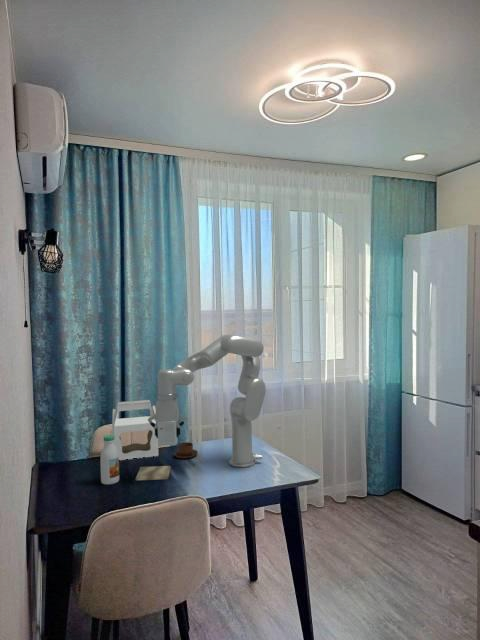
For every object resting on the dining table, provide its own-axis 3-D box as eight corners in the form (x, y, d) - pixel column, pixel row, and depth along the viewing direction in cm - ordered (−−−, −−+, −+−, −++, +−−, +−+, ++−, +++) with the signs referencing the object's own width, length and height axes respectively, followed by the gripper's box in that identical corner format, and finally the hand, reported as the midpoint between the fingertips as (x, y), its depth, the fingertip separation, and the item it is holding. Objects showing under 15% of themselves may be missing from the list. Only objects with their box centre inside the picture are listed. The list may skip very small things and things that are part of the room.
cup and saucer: (177, 452, 242) (177, 440, 242) (200, 453, 241) (199, 441, 240) (171, 459, 230) (170, 447, 230) (194, 460, 229) (194, 448, 229)
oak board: (170, 468, 217) (170, 465, 217) (168, 479, 203) (167, 476, 203) (140, 469, 217) (140, 466, 216) (135, 480, 203) (135, 477, 203)
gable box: (114, 461, 230) (112, 405, 229) (112, 453, 242) (111, 400, 242) (159, 456, 237) (157, 401, 236) (155, 448, 249) (154, 397, 249)
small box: (177, 441, 208) (177, 418, 207) (176, 445, 202) (175, 421, 202) (160, 442, 208) (159, 418, 207) (157, 445, 202) (157, 421, 202)
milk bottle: (102, 486, 197) (101, 439, 196) (99, 480, 203) (98, 435, 203) (121, 482, 200) (120, 436, 200) (117, 477, 207) (116, 432, 207)
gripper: (186, 395, 209) (187, 433, 209) (147, 396, 207) (148, 435, 207) (186, 398, 201) (187, 438, 202) (146, 399, 200) (146, 440, 200)
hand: (167, 436), depth 205 cm, fingers closed on small box, 8 cm apart
